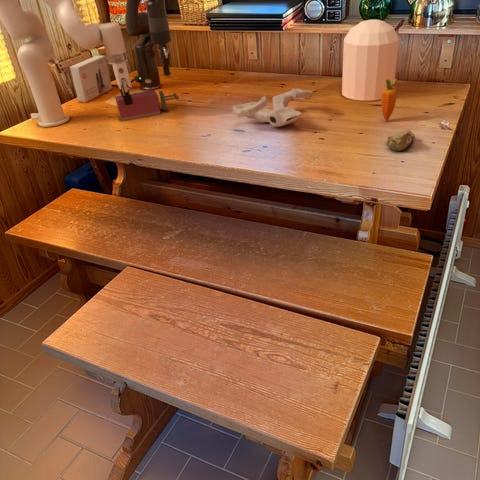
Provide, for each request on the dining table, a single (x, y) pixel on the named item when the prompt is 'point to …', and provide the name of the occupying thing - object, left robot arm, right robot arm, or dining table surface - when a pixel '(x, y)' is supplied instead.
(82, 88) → the skincare box
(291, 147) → the dining table surface
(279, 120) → the beige irregular branched piece
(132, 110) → the cabinet
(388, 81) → the carrot
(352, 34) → the container
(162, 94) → the drawer
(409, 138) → the rock
